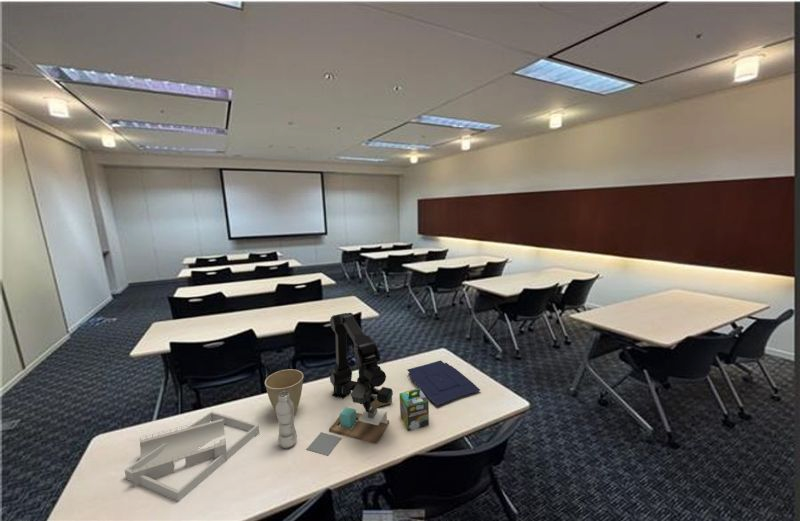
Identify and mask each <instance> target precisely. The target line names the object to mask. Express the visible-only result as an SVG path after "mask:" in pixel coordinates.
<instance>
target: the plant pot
mask: <svg viewBox="0 0 800 521" xmlns="http://www.w3.org/2000/svg"><path fill="white" fill-rule="evenodd" d="M303 384H304V373H303V372H302V371H300V370H298V369H292V368H291V369H289V368H288V369H282V370H279V371H276V372H274V373H272V374H270V375H268V377H266V379H265V381H264V386H265V389H266V393H267V396H268V399H269V401H270V404H271V406H272V409H273V410H274V412H275V413H276V410H275V409H276V405H277V403H278V402H279V400H278V398H279V397H278V395H279V393H281V392H283V391H288V392H289V396H290V398H289V399H290V400H291V401H292V402H293V403H294V416H295V415H296V413H297V411H298V408H299V404H300V401H301V396H302V392H303Z"/></svg>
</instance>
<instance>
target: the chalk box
mask: <svg viewBox="0 0 800 521" xmlns="http://www.w3.org/2000/svg"><path fill="white" fill-rule="evenodd" d="M429 401H430V399H429V398H428V397H427V395H426V394H425V393H424V392H423V391H422V390H421V389H420V387H418V388H415V389H409V390H407V391H403V392H401V393H399V410H400V412H399V413H400V416H399V417H400V420H401V421H402V423H403V425H404V427H405V429H406V431H407V432H412V431H415V430H419V429H423V428H426V427H428V426H430V422H429V420H430V418H429V417H430V415H429V413H430V411H429V408H430V407H429V406H430V402H429Z"/></svg>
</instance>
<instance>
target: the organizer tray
mask: <svg viewBox="0 0 800 521" xmlns="http://www.w3.org/2000/svg"><path fill="white" fill-rule="evenodd" d="M219 416H220V417H219ZM215 417H216V418H215ZM217 418H218V419H223V418H224V426H229V427H233V428H235V429H240V430H243V431H246V433H244V435H242V436H241V437H240V438H239V439H237V441H235V442H234V443H233V444H232V445H230V447H228V448H226V455H227V461H228V460H230V459H231V457H233V456H234V455H236V453H237V452H239V451H240V450H241V449H242V448H243V447H244V446H246V445H247V444H248V443H249V442H250V441H251V440H252V439H255V437H256V436H257V435H258V434H259V435H260V426H259V424H256V423H253V422H250V421H247V420H243V419H239V418H236V417H233V416H229V415H225V414H222V413H219V412H215V411H212V410H211V411H210V412H208V413H207V414H205V415H204V416H203V417H202V418H200V419H198V420H197V421H195V422H193V423H192V424H193V425H192V424H190V425H188V426H187V428H189V427H192V426H196V425H200V424H204V423H208V421H209V422H210V421H213V419H214V421H215V420H218V419H217ZM204 420H205V421H204ZM200 421H201V422H200ZM196 422H198V423H199V424H197V423H196ZM202 422H203V423H202ZM194 424H195V425H194ZM259 435H258V436H259ZM258 436H257V437H258ZM257 437H256V438H257ZM166 444H167V443H165V444H162V445H161V446H159V447H158V448H156V449H155V450H153V451H152V452H150V453H149V454H147V455H146V456H145V457H143V458H142V459H140V458H139V459H138V460H137V461H136V462H134V463H133V464H132V465H129V466H128V467H126V468H125V469H124V474H125V478H127V479H126V480H128V479H129V480H128V481H130V480H131V481H130V482H132V481H133V474H132V471H133V470H135V469H138V468H139V467H140V468H141V467H142V466H144V465H145V464H147V463H148V462H150V461H151V460H152V459H154V458H155V457H157V456H158V455H159V454H160V453H161V452H162V451H163V449H164V448H165V447H166ZM227 461H225V457H224V454H223V455H220V456H219V457H217V458H216V459H215V458H214V459H213V461H211V462H210V463H209V464H207V465H206V466H205V467H204V468H203V469H202V470H201V471H200V472H198V473H197V474H196V475H195V476H194V477H192V478H191V479H190V480H188V482H187V483H185V484H184V485H183V486H181V487H180V488H179V489H178V488H174V487H172V486H170V485H167V484H166V483H163V482H161V481H158V480H157V479H155V480H154V479H152V478H149V477H147V476H145V475H142V476H139V477H140V485H139V486H141V487H144V488H147V489H148V490H150V491H151V490H152V491H153V492H156V493H158V494H160V495H162V496H165V497H168V498H169V499H172V500H174V501H177V502H181V501H182V499H184V498H185V497H186V496H187V495H189V494H190V493H191V492H192V491H193V490H194V489H196V488H197V487H198V486H199V485H200V484H201V483H203V482H204V481H205V480H206V479H208V477H209V476H211V475H212V474H213V473H214V472H215V471H216V470H218V469H219V468H221V466H222V465H223V464H225V463H226V462H227ZM132 468H133V470H132Z"/></svg>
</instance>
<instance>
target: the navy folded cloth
mask: <svg viewBox="0 0 800 521" xmlns="http://www.w3.org/2000/svg"><path fill="white" fill-rule="evenodd" d="M406 370H407V372H408V373H407V374H408V376H409V378H410V379H411V380H412V381H413V382H414V383H415V384H416V385H417V386H418V388H420V389H421V391H422V392H423V393H424V395H425V396H426V397H427V398H428V400H429V401H432V402H433V404H434V405H435V406H439V405H442V404H444V403H447V402H449V401H452V400H454V399H457V398H460V397H463V396H466V395H469V394H472V393H475V392H479V391H481V389H480V388H479V387H478V386H477V385H476V384H475V383H474V382H473V381H471V380H470V379H469V378H468V377H466V376H465V375H463V373H462V372H460V371H459V370H458V369H457V368H455V367H454V366H453V365H450V364H449V363H448V362H444V361H442V359H440V360H437V361H433V362H431V363H427V364H423V365H419V366H415V367H411V368H408V369H406Z"/></svg>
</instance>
